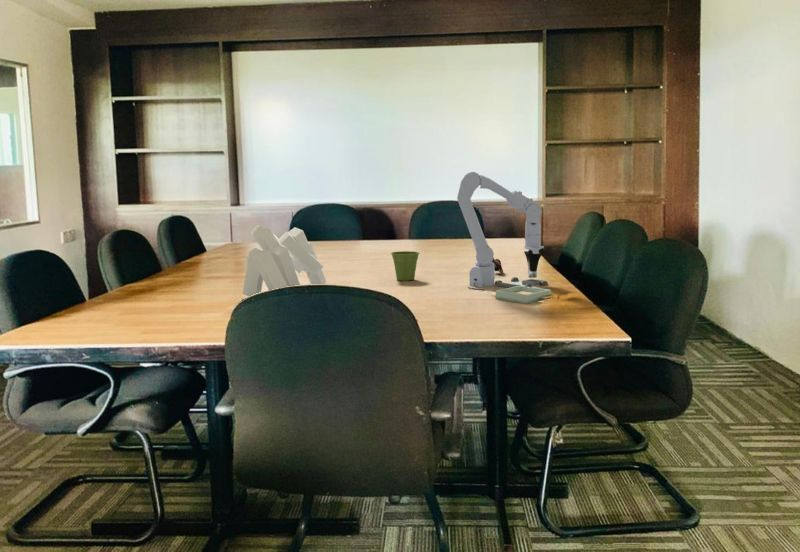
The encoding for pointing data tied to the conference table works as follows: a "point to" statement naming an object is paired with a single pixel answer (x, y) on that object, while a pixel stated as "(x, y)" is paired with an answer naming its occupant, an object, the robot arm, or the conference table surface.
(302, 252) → the pile of blocks
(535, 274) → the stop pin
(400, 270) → the plant pot
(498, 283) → the trolley deck
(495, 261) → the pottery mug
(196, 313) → the conference table surface
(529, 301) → the tray
